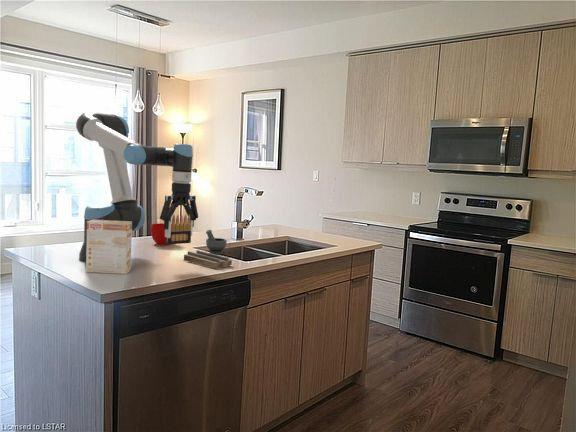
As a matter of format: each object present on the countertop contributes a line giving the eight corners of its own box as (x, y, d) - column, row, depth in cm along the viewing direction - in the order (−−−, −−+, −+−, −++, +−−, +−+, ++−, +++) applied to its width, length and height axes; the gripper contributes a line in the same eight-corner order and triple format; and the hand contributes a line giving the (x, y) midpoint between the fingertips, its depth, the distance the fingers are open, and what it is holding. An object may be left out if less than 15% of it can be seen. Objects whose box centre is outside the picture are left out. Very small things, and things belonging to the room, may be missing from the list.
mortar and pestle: (217, 250, 233) (218, 227, 232) (229, 254, 227) (231, 229, 226) (199, 253, 225) (200, 228, 224) (211, 256, 219) (212, 231, 217)
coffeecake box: (131, 270, 182) (132, 221, 180) (125, 274, 175) (127, 223, 173) (92, 268, 182) (93, 218, 179) (85, 272, 174) (86, 220, 172)
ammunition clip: (167, 244, 186) (169, 214, 185) (165, 243, 188) (166, 214, 186) (190, 242, 194) (192, 214, 192) (188, 242, 195) (190, 213, 194)
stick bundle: (214, 268, 194) (214, 260, 194) (183, 260, 206) (184, 252, 206) (231, 265, 202) (232, 257, 201) (201, 257, 214) (201, 249, 214)
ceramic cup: (165, 248, 230) (166, 228, 229) (144, 243, 240) (145, 224, 239) (186, 246, 241) (186, 226, 239) (165, 241, 251) (166, 222, 250)
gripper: (163, 182, 177) (160, 240, 179) (209, 183, 194) (206, 235, 197) (151, 181, 181) (149, 236, 184) (197, 182, 199) (194, 232, 202)
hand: (178, 236), depth 190 cm, fingers closed on ammunition clip, 10 cm apart
